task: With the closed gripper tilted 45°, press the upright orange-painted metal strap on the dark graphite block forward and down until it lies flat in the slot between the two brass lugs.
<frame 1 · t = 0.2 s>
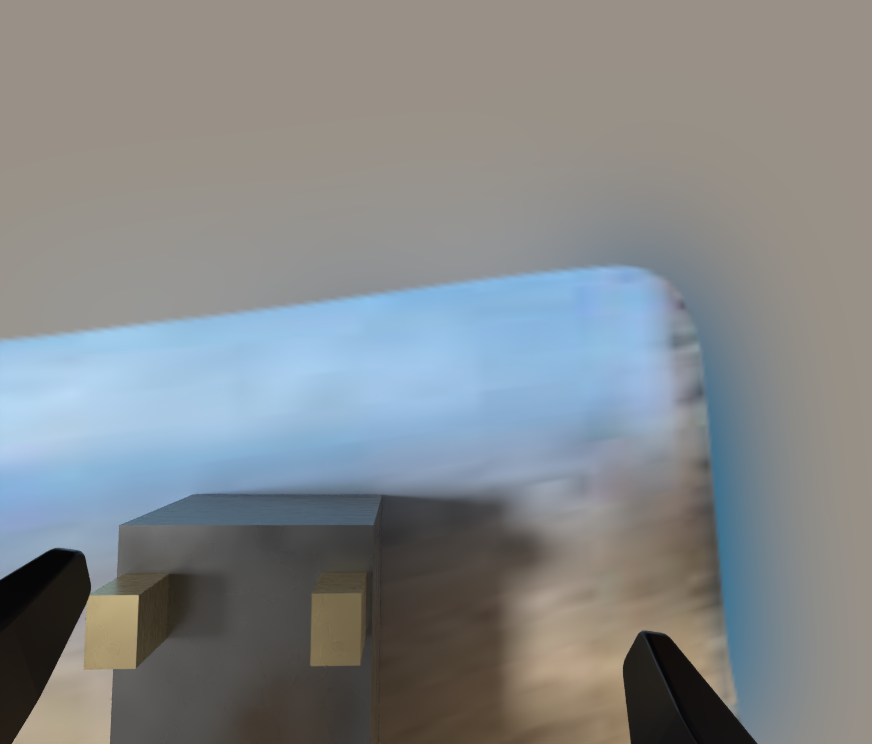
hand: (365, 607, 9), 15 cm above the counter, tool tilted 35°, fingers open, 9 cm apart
heatsink block: (284, 651, 23), on the counter
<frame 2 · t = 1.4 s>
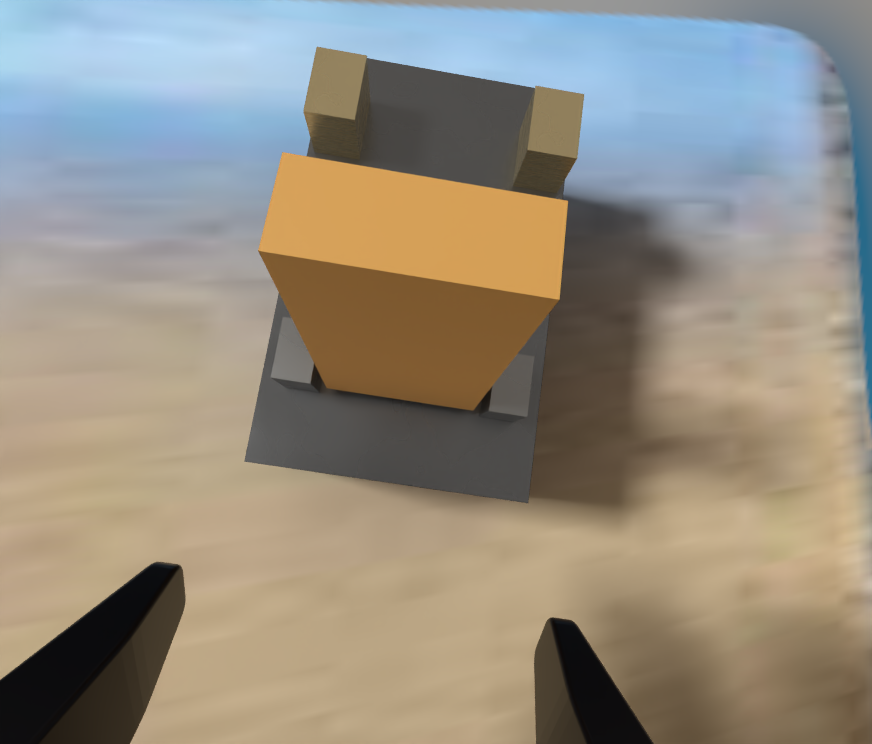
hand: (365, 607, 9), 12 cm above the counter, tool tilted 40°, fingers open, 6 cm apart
strap: (408, 329, 12), point 10 cm above the counter, hinge at 85.0°
heatsink block: (416, 316, 23), on the counter
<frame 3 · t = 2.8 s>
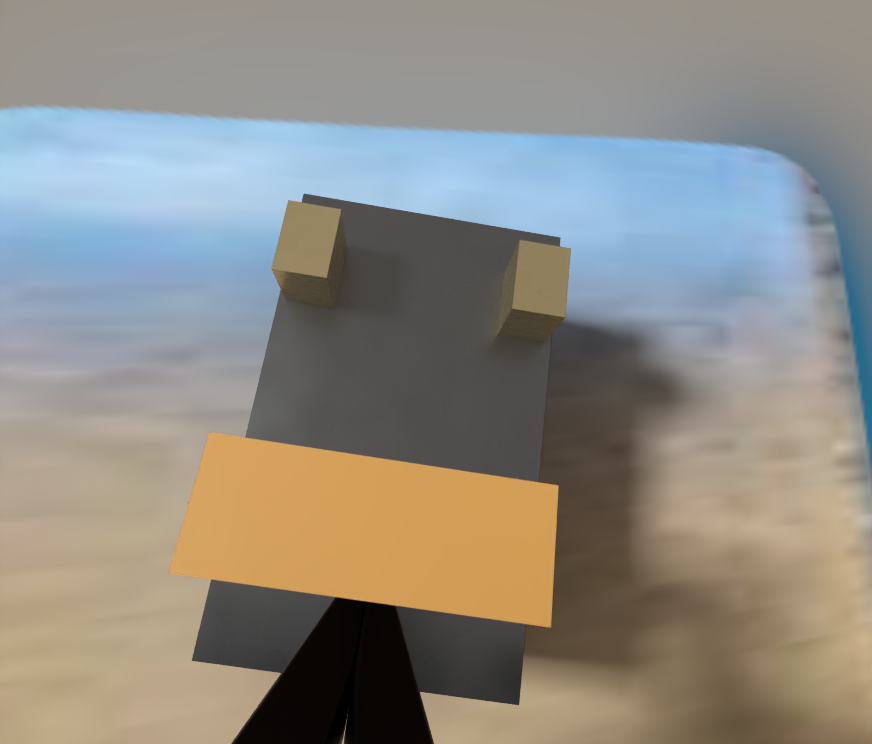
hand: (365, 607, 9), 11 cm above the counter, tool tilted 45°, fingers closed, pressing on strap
strap: (376, 548, 10), point 10 cm above the counter, hinge at 85.0°, touching gripper
heatsink block: (396, 450, 21), on the counter
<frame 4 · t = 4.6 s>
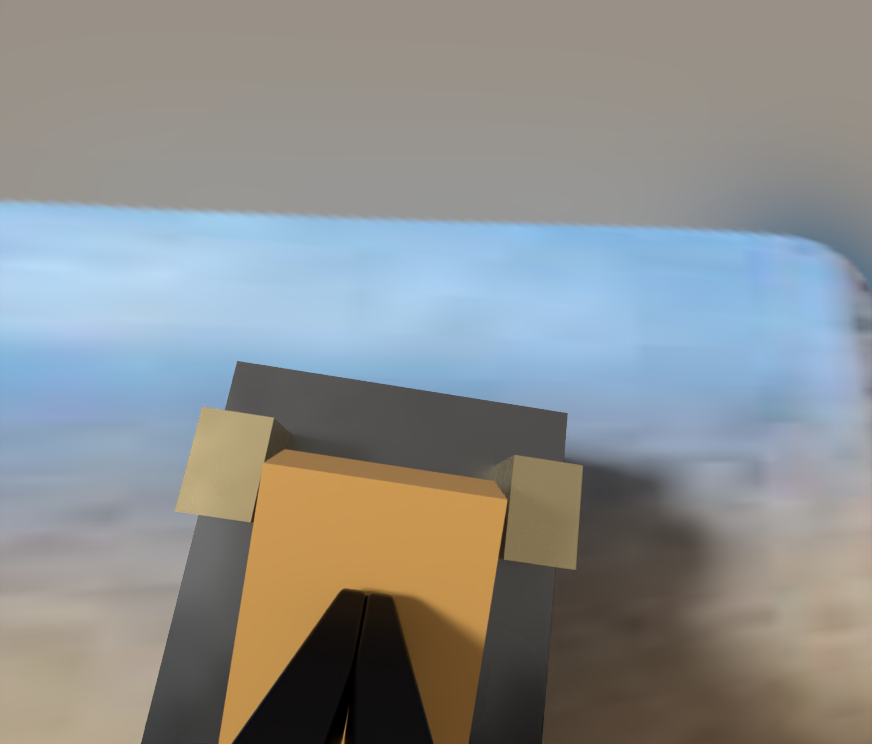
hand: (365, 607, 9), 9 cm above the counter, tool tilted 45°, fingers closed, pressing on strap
strap: (349, 717, 10), point 8 cm above the counter, hinge at 15.9°, touching gripper
heatsink block: (366, 633, 17), on the counter
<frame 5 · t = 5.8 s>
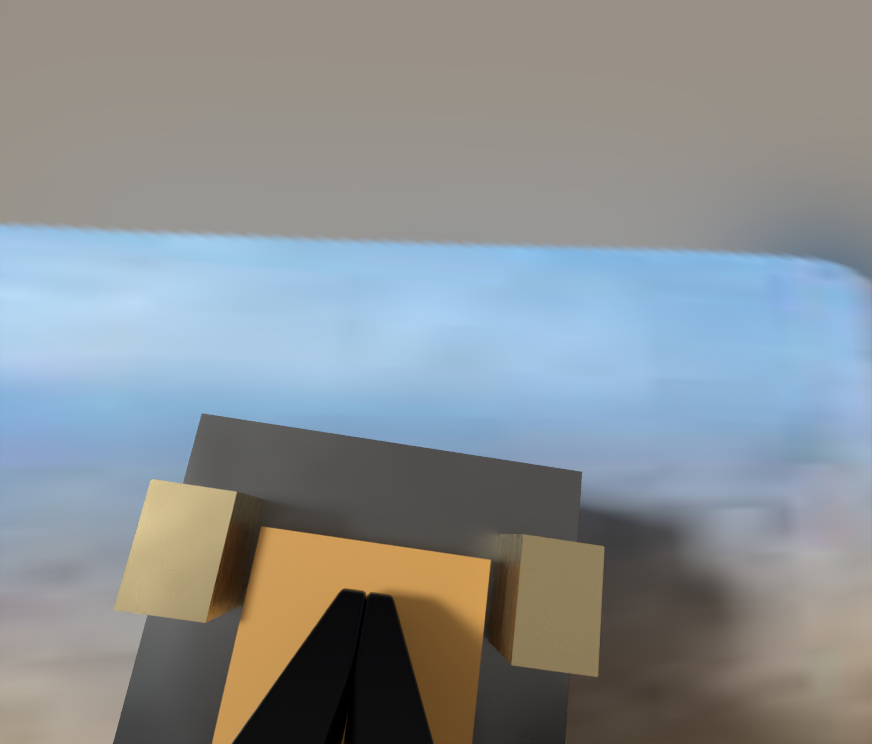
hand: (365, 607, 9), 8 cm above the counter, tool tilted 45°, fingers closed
heatsink block: (354, 706, 15), on the counter
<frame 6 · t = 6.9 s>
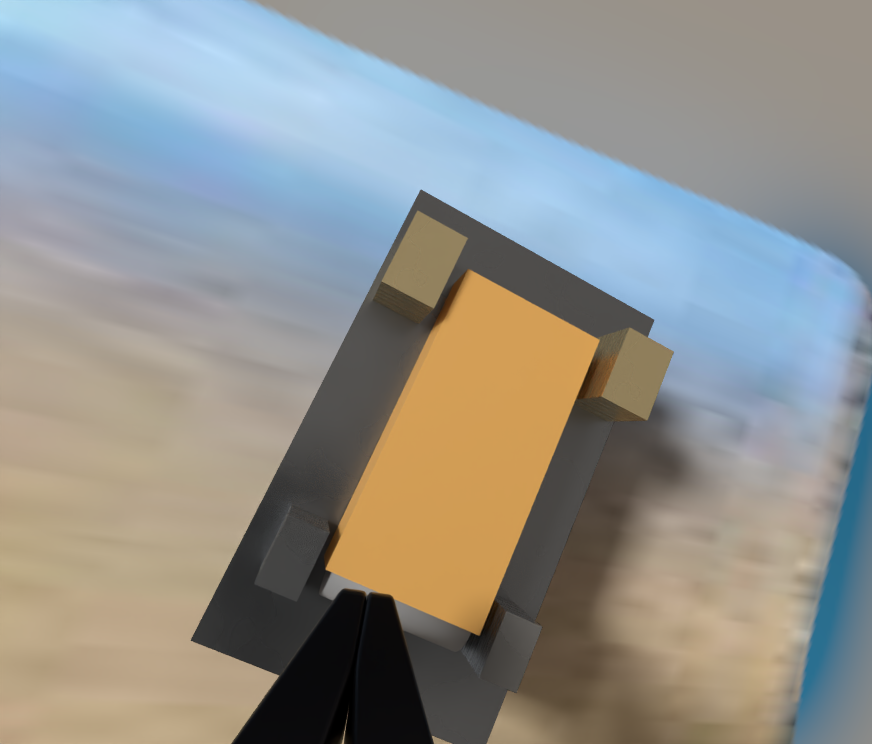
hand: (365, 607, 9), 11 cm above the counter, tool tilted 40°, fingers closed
strap: (459, 457, 14), point 7 cm above the counter, hinge at -0.8°, touching heatsink block
heatsink block: (411, 452, 21), on the counter
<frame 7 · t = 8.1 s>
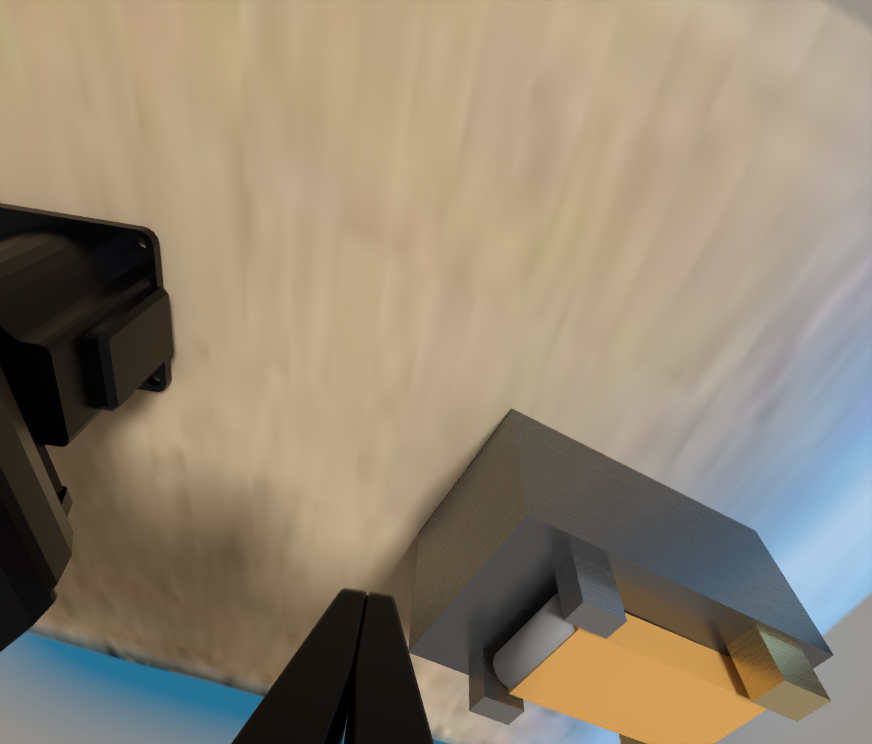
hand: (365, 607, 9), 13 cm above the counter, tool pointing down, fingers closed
strap: (625, 676, 20), point 7 cm above the counter, hinge at -0.8°, touching heatsink block
heatsink block: (584, 532, 25), on the counter
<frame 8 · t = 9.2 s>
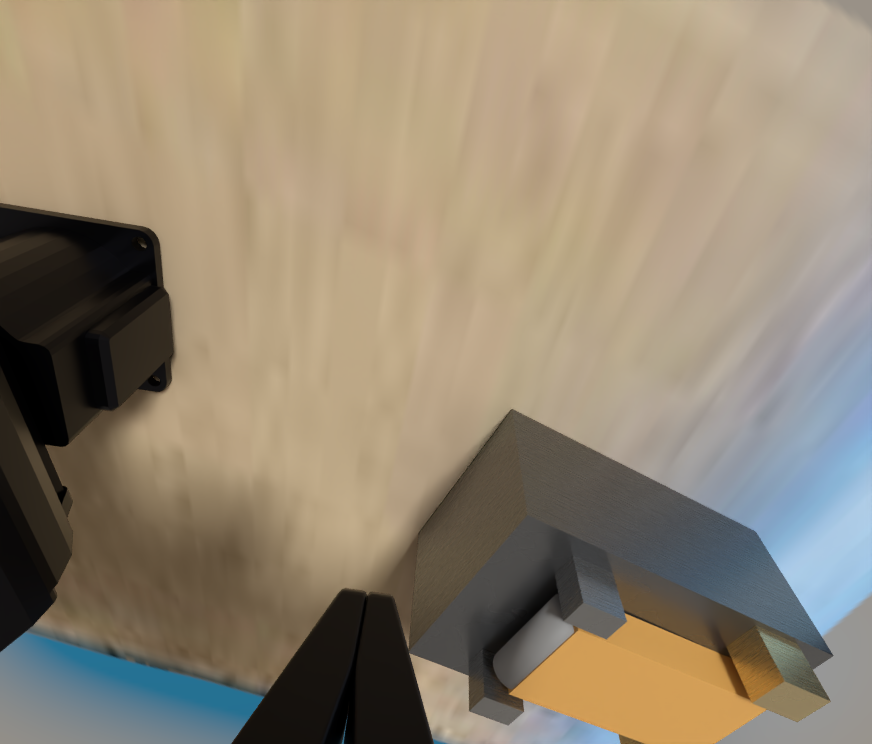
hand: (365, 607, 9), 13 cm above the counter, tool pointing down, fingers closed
strap: (625, 676, 20), point 7 cm above the counter, hinge at -0.8°, touching heatsink block
heatsink block: (584, 532, 25), on the counter
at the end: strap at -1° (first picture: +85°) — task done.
